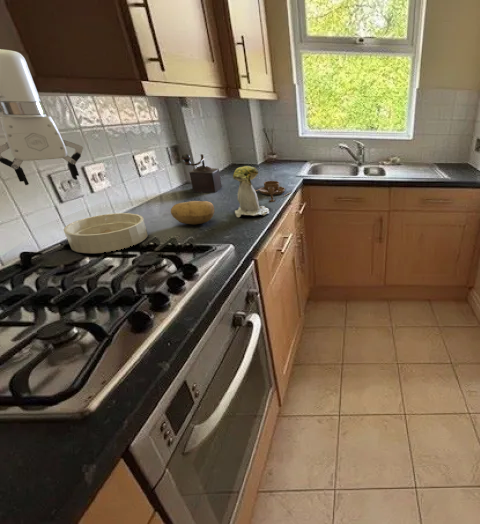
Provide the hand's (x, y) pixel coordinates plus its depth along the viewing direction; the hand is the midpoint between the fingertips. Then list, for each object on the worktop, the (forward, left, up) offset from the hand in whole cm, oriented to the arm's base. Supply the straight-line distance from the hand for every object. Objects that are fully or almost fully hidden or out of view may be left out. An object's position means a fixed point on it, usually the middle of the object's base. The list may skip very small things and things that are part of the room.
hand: (51, 181), depth 87 cm
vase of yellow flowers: (+47, +26, -20) cm, 58 cm away
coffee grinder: (+25, +64, -20) cm, 72 cm away
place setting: (+54, +53, -20) cm, 78 cm away
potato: (+28, +18, -20) cm, 39 cm away
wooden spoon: (+6, +6, -20) cm, 22 cm away
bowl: (+6, +6, -20) cm, 22 cm away
